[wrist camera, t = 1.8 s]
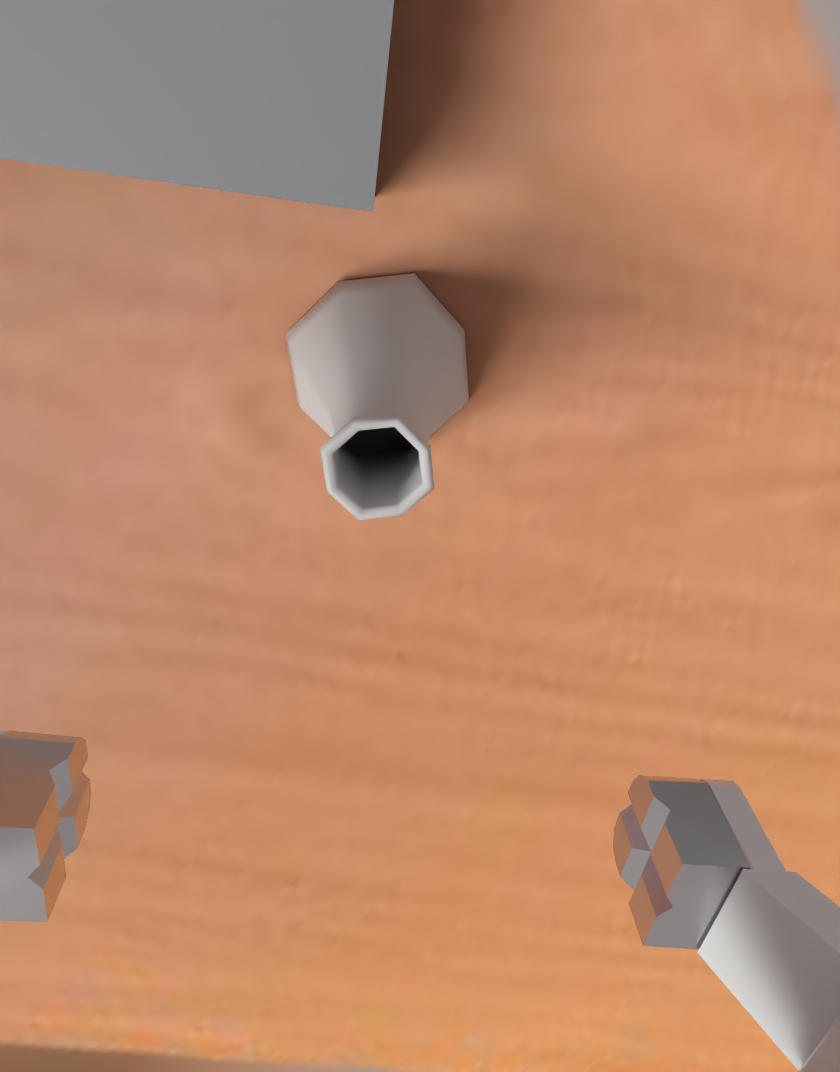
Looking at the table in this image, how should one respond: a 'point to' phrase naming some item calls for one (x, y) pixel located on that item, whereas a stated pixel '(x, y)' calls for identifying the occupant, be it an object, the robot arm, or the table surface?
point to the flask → (378, 387)
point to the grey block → (201, 92)
